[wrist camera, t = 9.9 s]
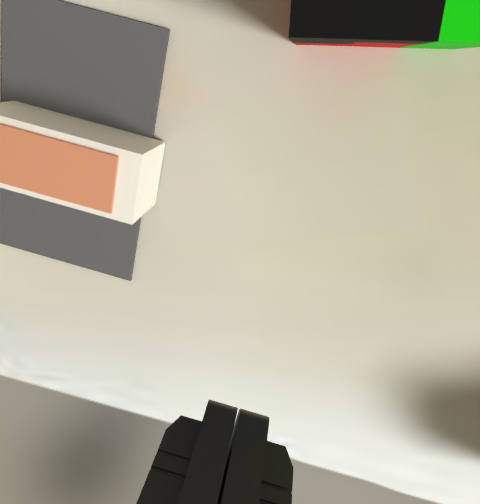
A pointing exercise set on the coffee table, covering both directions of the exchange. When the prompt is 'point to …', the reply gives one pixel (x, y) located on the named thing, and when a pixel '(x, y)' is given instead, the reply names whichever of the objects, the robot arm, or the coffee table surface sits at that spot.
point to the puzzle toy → (386, 23)
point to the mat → (78, 115)
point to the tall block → (78, 162)
